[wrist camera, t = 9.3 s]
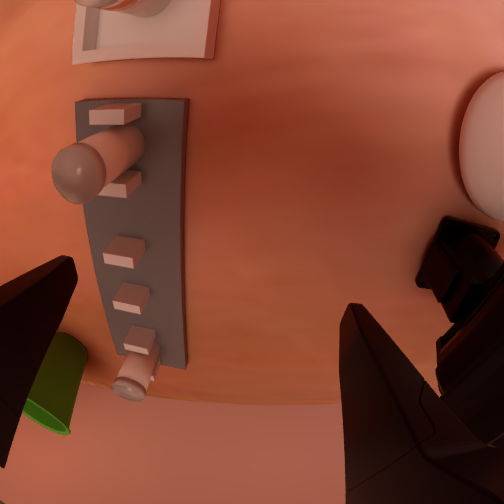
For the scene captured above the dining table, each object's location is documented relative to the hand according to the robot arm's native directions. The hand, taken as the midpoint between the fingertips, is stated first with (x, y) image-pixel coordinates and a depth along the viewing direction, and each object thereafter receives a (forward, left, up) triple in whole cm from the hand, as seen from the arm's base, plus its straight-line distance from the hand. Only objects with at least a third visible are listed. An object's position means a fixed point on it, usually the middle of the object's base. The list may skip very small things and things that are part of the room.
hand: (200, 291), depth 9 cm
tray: (+7, -11, -12) cm, 18 cm away
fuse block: (+8, +9, -12) cm, 17 cm away
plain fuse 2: (+8, +19, -12) cm, 24 cm away
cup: (+20, +25, -13) cm, 34 cm away
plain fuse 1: (+8, -1, -12) cm, 14 cm away
